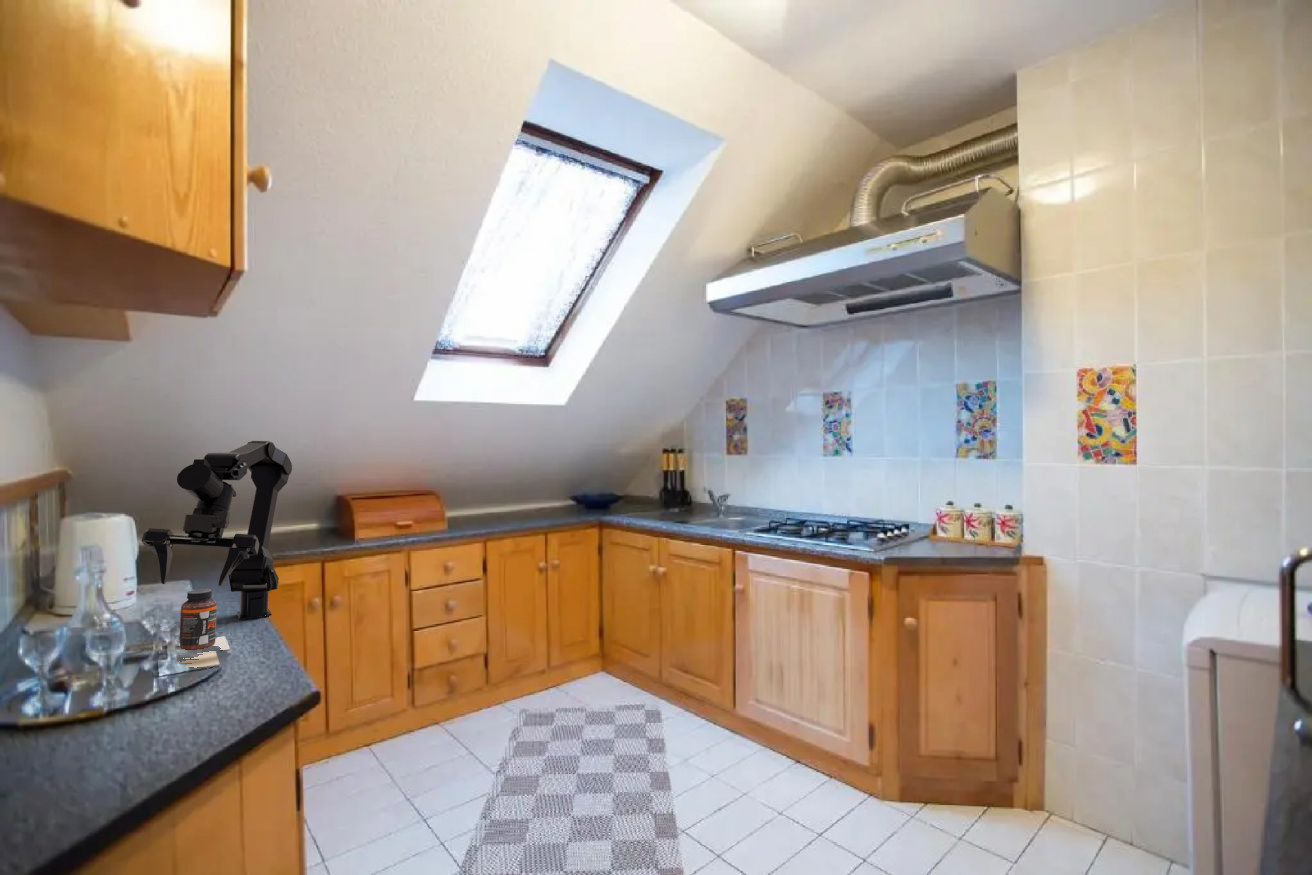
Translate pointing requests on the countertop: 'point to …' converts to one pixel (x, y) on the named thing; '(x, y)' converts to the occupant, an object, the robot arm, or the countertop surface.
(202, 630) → the supplement bottle
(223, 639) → the cream flat square slab
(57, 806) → the countertop surface
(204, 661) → the beech pad
